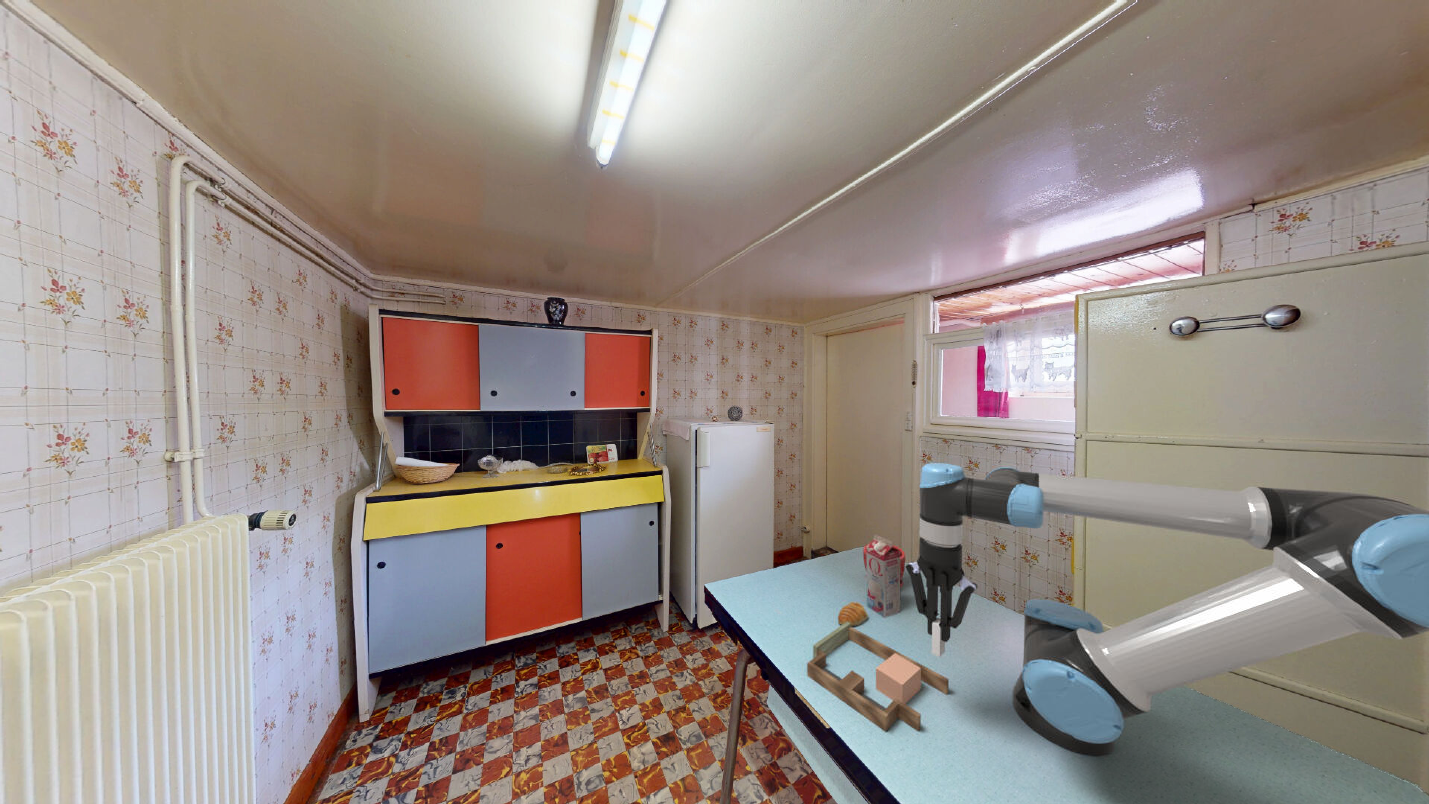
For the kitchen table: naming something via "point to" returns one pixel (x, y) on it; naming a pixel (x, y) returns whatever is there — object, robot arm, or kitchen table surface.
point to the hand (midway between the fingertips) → (938, 652)
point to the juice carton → (883, 577)
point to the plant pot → (902, 562)
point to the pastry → (852, 614)
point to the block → (898, 678)
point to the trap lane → (854, 683)
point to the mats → (860, 694)
